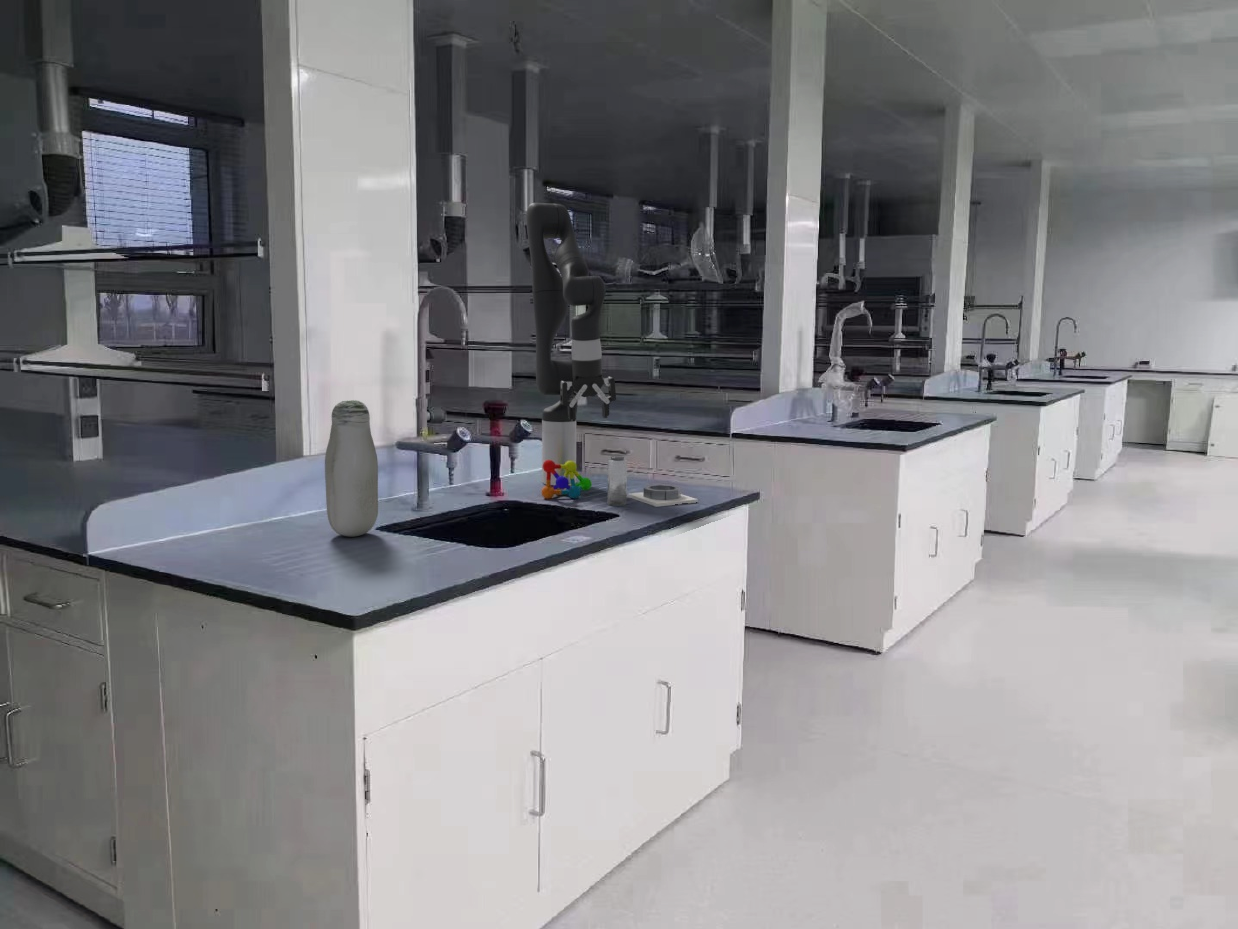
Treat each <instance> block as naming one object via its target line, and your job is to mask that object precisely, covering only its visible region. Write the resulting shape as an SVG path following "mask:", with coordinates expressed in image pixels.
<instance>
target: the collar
mask: <svg viewBox="0 0 1238 929" xmlns="http://www.w3.org/2000/svg"><path fill="white" fill-rule="evenodd" d="M643 492H644V494H643V497H646V498H649V499H655V500H672V499H678V498H679V497H681V494H682V487H680V486H676V485H673V484H662V483H661V484H651V485H646V486H644V487H643Z"/></svg>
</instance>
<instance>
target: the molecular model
mask: <svg viewBox="0 0 1238 929" xmlns="http://www.w3.org/2000/svg"><path fill="white" fill-rule="evenodd" d="M577 468H578V466H577V462H576V463H575V462H574V461H567V462H566V463H565V465H558V464H555V463H554V462H553V461H552V460H546V461H545V462H544V463H543V469H544V471H545V472H547V479H546V484H545V486H543V488H542V489H541V496H542V497H543V498H544V499H547V500H550V499H552V498H553V497H554V496H555V495H568V497H569V498H571V499H573V500H574V499H578V498H580V496H581V494H582V493H581V492H582V490H583V491H588V490H590V489H591V488H592V485H593V484H592V480H591V479H589V478H588V477H582V475H581V474H580V473H579V472H578V471H577ZM555 469H565V471H566V472H565V474H564V476H559V475H558V473H557V472H556V471H555ZM551 473H552V474H553V475H554V477H555V478H556V484H555V485H551ZM569 475H570V481H571V484H569V481H568V479H567V478H568V476H569ZM574 475H575V476H576V479H578V481H579V482H576V483H575V480H574ZM568 484H569V485H568Z"/></svg>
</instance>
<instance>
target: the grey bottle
mask: <svg viewBox="0 0 1238 929" xmlns="http://www.w3.org/2000/svg"><path fill="white" fill-rule="evenodd" d="M331 411H332V412H331V426H330V431H329V433H330V434H329V439H328V443H327V446H326V450H325V456H324V478H325V498H326V500H325V501H326V502H325V503H326V514H327V520H328V523H329V526H331V529H332V530H333V531H334V533H336V534H337V535H341V536H343V537H350V538H351V537H352V538H353V537H359V536H362V535H365V534H367V533H368V532H370V531H371V530H372V528H373V527H374V525H375V524H376V522H377V519H378V514H379V489H378V488H379V487H378V485H379V482H378V481H379V463H378V462H379V461H378V454H377V450H376V447H375V443H374V439H373V436H372V431H371V423H370V422H371V421H370V419H371V418H370V417H371V416H370V412H369V409H368V407H367V405H366V404H365V403H364V402H362V401H360V400H356V399H355V400H354V399H353V400H342V401H340V402H338V403H336V404H335V405H334V406H333V409H332V410H331Z"/></svg>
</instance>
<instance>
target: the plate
mask: <svg viewBox="0 0 1238 929" xmlns="http://www.w3.org/2000/svg"><path fill="white" fill-rule="evenodd" d="M643 494H644V491H642V492H632V493H626V498H629V499H633V500H636V501H639V502H641V503H645V504H647V505H650V506H653V507H656V508H657V507H667V506H669V507H670V506H676V505H675V504H678V505H683V504H682V503H688V504H696V502H697V503H698V500H699V499H698V498H696V497H695V498H694V497H691V496H689V495H685V494H682V493H681V497H679V498H678V499H672V500H655V499H649V498H646V497H643Z"/></svg>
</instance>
